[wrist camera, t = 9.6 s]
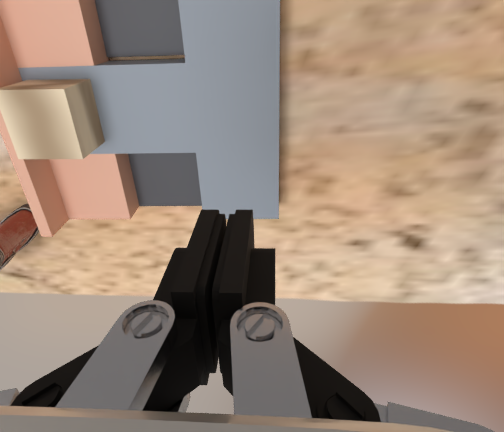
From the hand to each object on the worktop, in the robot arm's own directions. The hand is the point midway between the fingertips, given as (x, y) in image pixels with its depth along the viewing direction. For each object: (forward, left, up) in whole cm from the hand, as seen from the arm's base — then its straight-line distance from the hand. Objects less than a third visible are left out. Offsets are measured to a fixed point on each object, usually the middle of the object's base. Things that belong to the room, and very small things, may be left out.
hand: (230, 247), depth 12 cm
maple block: (+15, 0, -19) cm, 24 cm away
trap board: (+8, 0, -22) cm, 23 cm away
